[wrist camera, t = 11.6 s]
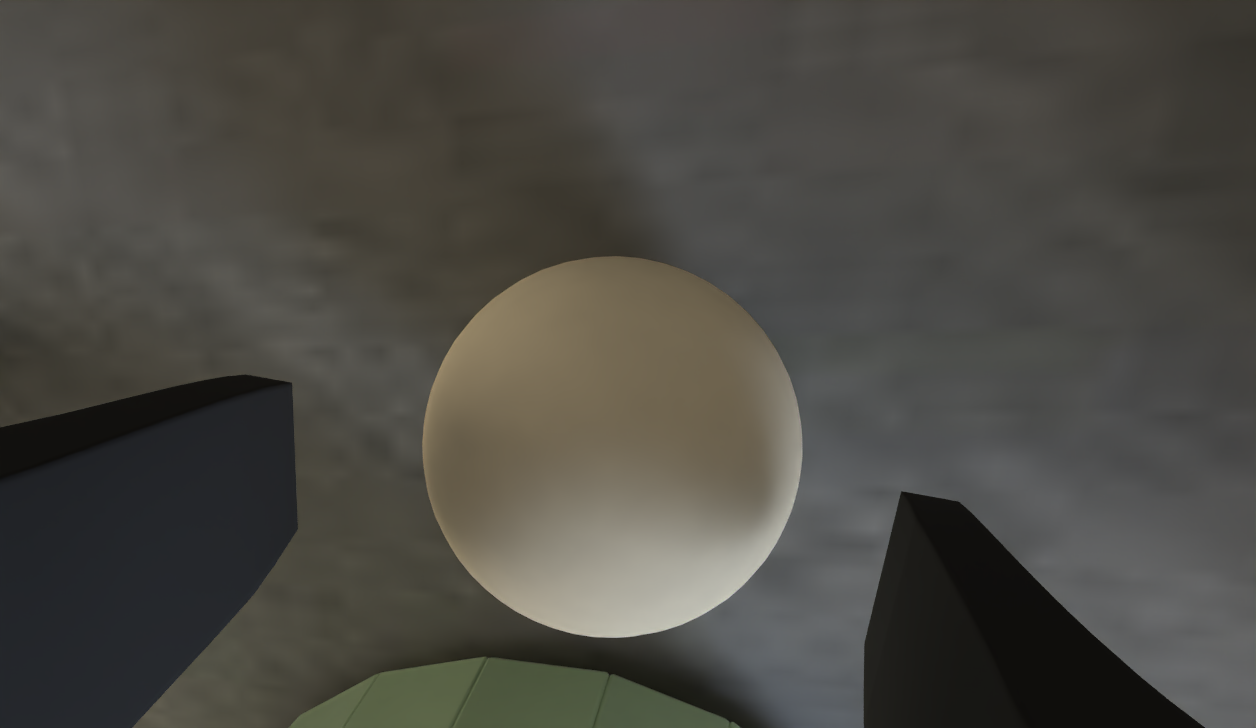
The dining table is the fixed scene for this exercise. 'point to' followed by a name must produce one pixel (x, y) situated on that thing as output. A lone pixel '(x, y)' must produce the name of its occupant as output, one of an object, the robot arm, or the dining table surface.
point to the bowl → (503, 700)
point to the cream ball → (612, 447)
